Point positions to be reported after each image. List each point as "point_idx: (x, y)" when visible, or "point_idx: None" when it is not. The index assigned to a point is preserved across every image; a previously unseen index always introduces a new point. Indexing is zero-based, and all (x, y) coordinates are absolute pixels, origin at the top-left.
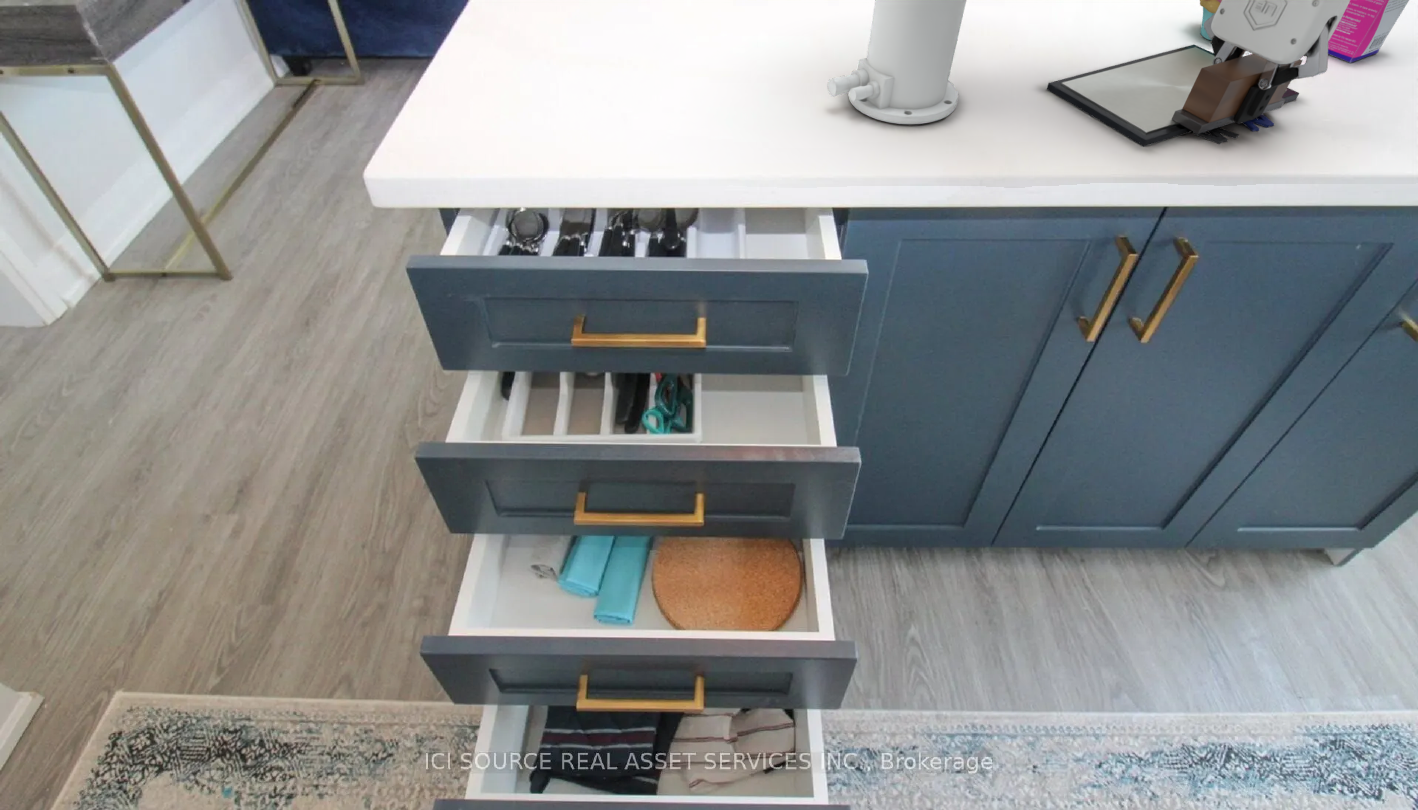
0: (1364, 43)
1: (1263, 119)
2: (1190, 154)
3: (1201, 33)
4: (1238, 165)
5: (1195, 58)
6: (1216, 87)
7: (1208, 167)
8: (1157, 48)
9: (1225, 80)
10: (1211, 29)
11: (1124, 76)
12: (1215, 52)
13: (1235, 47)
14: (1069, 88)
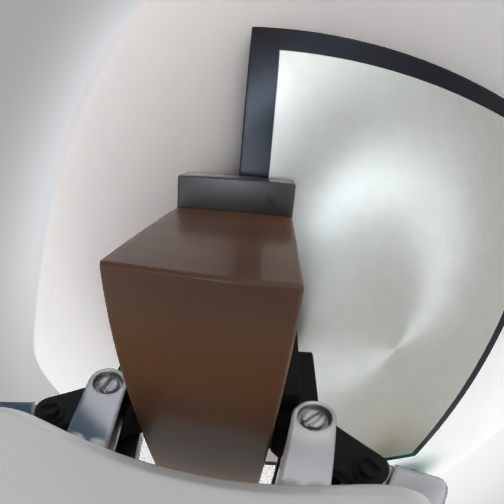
0: None
1: None
2: (160, 114)
3: (414, 470)
4: (83, 180)
5: (400, 439)
6: (171, 248)
7: (104, 109)
8: (454, 421)
9: (122, 261)
10: (413, 487)
11: (488, 291)
12: (349, 442)
13: (277, 480)
14: None
